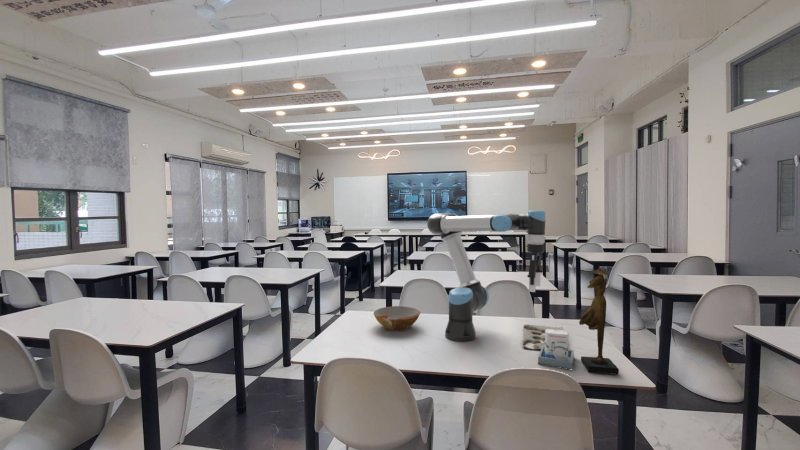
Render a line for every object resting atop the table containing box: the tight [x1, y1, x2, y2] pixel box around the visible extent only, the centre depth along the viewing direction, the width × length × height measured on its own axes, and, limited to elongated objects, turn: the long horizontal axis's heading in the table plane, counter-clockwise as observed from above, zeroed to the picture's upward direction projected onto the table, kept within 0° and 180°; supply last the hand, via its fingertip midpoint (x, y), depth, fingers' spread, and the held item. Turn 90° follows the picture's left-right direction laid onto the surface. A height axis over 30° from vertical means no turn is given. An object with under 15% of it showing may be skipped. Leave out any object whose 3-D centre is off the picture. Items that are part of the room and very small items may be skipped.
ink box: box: [544, 329, 569, 361], centre depth 154 cm, size 9×5×12 cm, turn 76°
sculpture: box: [578, 267, 620, 375], centre depth 146 cm, size 13×11×40 cm
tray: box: [537, 345, 575, 370], centre depth 154 cm, size 13×14×3 cm
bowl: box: [373, 305, 421, 331], centre depth 198 cm, size 25×25×8 cm
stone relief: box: [521, 324, 570, 351], centre depth 179 cm, size 32×3×20 cm
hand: (534, 288), depth 172 cm, fingers open, 13 cm apart
